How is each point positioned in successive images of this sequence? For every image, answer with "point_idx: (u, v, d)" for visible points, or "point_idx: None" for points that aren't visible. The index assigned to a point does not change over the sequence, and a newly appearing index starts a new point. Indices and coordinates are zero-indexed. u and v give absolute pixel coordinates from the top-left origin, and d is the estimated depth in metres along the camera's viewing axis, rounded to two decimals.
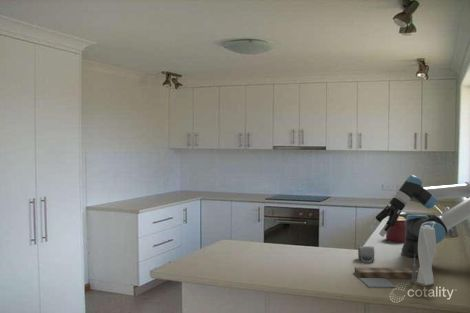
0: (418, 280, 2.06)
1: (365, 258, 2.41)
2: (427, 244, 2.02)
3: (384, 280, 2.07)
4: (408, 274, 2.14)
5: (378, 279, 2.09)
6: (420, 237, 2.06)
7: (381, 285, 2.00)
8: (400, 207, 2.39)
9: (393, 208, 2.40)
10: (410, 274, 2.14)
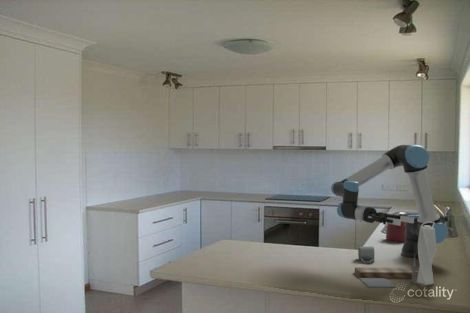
0: (418, 280, 2.06)
1: (365, 258, 2.41)
2: (427, 244, 2.02)
3: (384, 280, 2.07)
4: (408, 274, 2.14)
5: (378, 279, 2.09)
6: (420, 237, 2.06)
7: (381, 285, 2.00)
8: (368, 214, 2.23)
9: None
10: (410, 274, 2.14)
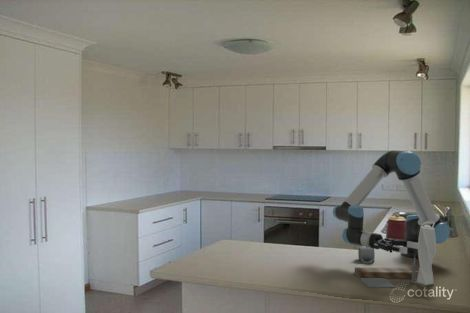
0: (418, 280, 2.06)
1: (365, 259, 2.40)
2: (427, 244, 2.02)
3: (384, 280, 2.07)
4: (408, 274, 2.14)
5: (378, 279, 2.09)
6: (420, 237, 2.06)
7: (381, 285, 2.00)
8: (373, 240, 2.19)
9: None
10: (410, 274, 2.14)
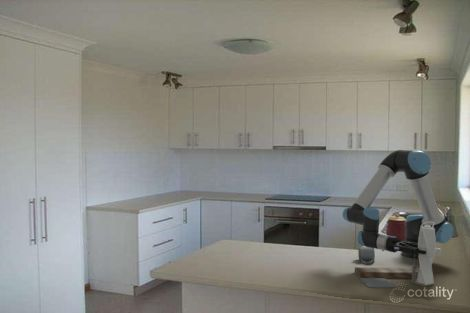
0: (418, 280, 2.06)
1: (365, 259, 2.40)
2: (427, 244, 2.02)
3: (384, 280, 2.07)
4: (408, 274, 2.14)
5: (378, 279, 2.09)
6: (420, 237, 2.06)
7: (381, 285, 2.00)
8: (390, 243, 2.14)
9: None
10: (410, 274, 2.14)
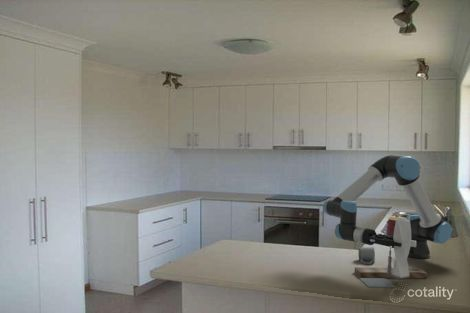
0: (394, 273, 2.04)
1: (365, 259, 2.39)
2: (402, 236, 2.00)
3: (384, 280, 2.07)
4: None
5: (378, 279, 2.09)
6: (396, 229, 2.04)
7: (381, 285, 2.00)
8: (367, 236, 2.12)
9: None
10: (410, 274, 2.14)
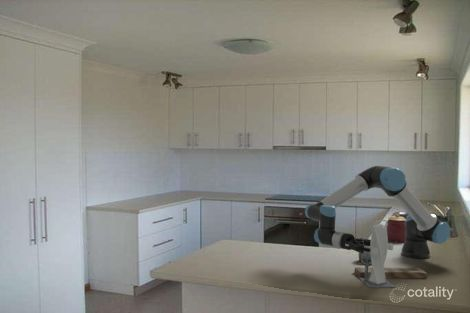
0: (370, 279, 2.04)
1: (365, 260, 2.38)
2: (379, 243, 2.00)
3: None
4: (408, 274, 2.14)
5: None
6: (372, 236, 2.04)
7: (381, 285, 2.00)
8: (345, 241, 2.12)
9: None
10: (410, 274, 2.14)
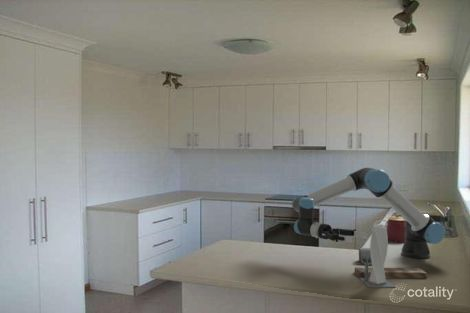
0: (370, 279, 2.04)
1: (365, 260, 2.37)
2: (379, 243, 2.00)
3: None
4: (408, 274, 2.14)
5: None
6: (372, 236, 2.04)
7: (381, 285, 2.00)
8: (322, 231, 2.24)
9: None
10: (410, 274, 2.14)
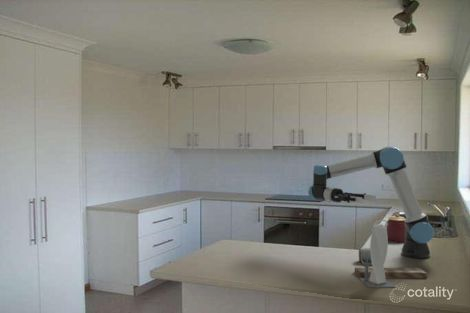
0: (370, 279, 2.04)
1: None
2: (379, 243, 2.00)
3: None
4: (408, 274, 2.14)
5: None
6: (372, 236, 2.04)
7: (381, 285, 2.00)
8: (334, 194, 2.45)
9: None
10: (410, 274, 2.14)
